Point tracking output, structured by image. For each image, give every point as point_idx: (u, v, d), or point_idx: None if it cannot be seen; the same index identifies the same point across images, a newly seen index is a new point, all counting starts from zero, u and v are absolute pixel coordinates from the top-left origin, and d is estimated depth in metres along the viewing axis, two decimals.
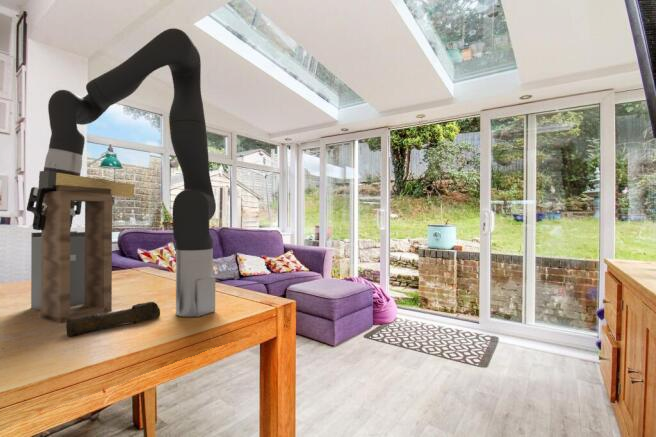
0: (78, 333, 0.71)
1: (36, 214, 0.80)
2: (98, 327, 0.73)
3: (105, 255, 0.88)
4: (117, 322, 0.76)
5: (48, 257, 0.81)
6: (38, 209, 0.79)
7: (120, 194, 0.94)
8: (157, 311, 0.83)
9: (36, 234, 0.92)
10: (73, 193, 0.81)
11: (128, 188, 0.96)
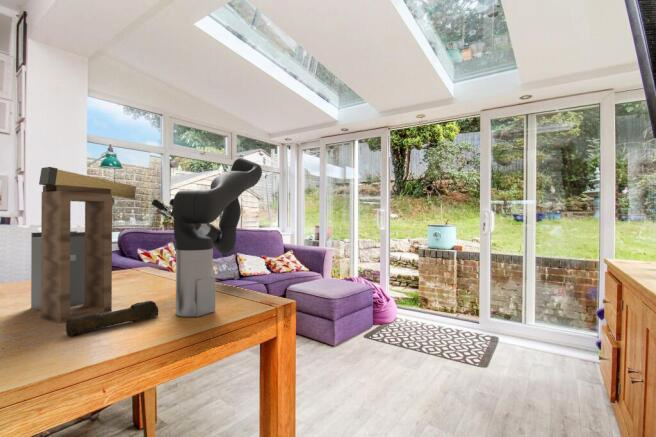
0: (79, 333, 0.71)
1: None
2: (98, 326, 0.74)
3: (105, 255, 0.88)
4: (117, 321, 0.76)
5: (48, 257, 0.81)
6: None
7: (121, 195, 0.94)
8: (156, 310, 0.84)
9: (36, 234, 0.92)
10: (73, 193, 0.81)
11: (129, 189, 0.96)
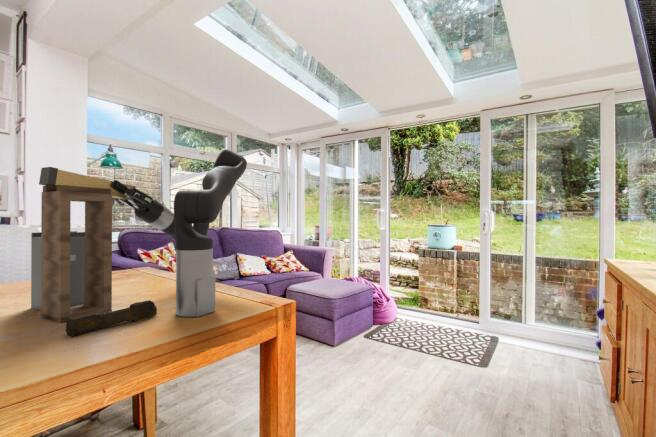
0: (79, 333, 0.71)
1: None
2: (99, 326, 0.74)
3: (105, 255, 0.88)
4: (117, 321, 0.77)
5: (48, 257, 0.81)
6: None
7: (120, 195, 0.94)
8: (154, 309, 0.85)
9: (36, 234, 0.92)
10: (73, 193, 0.81)
11: None
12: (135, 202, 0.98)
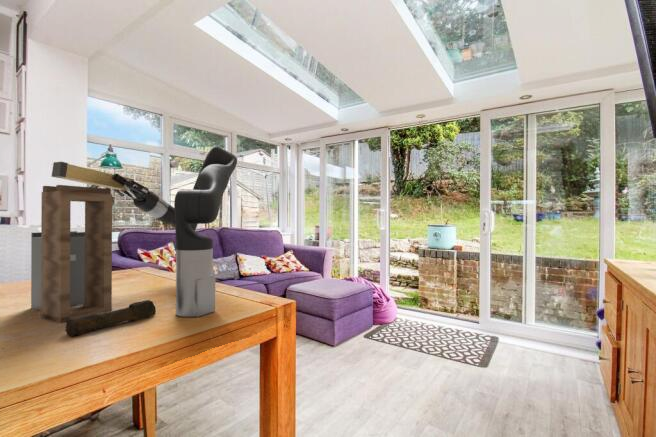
0: (80, 333, 0.71)
1: None
2: (99, 326, 0.74)
3: (105, 255, 0.88)
4: (117, 321, 0.77)
5: (48, 257, 0.81)
6: None
7: (121, 187, 1.08)
8: (153, 309, 0.85)
9: (36, 234, 0.92)
10: (73, 193, 0.81)
11: None
12: (133, 193, 1.12)
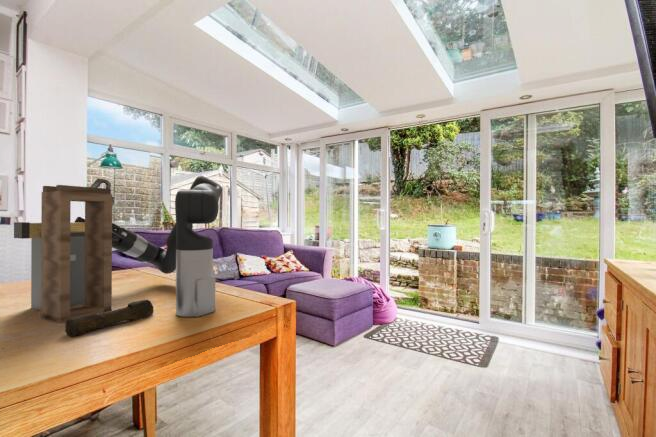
0: (81, 333, 0.71)
1: None
2: (99, 326, 0.74)
3: (105, 255, 0.88)
4: (116, 320, 0.77)
5: (48, 257, 0.81)
6: None
7: None
8: (151, 308, 0.86)
9: None
10: (73, 193, 0.81)
11: None
12: None
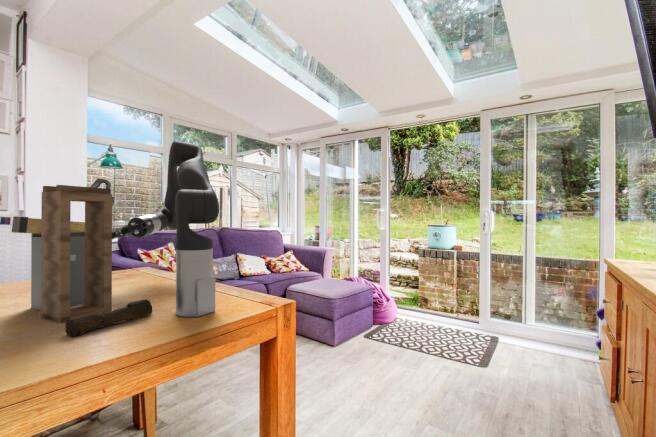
0: (81, 332, 0.71)
1: None
2: (99, 326, 0.74)
3: (105, 255, 0.88)
4: (116, 320, 0.77)
5: (48, 257, 0.81)
6: None
7: None
8: (150, 308, 0.86)
9: (36, 234, 0.92)
10: (73, 193, 0.81)
11: None
12: (138, 230, 1.12)
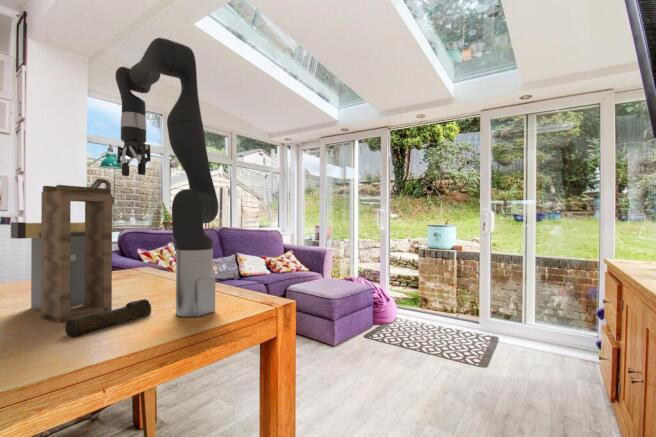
0: (82, 332, 0.71)
1: None
2: (99, 326, 0.74)
3: (105, 255, 0.88)
4: (116, 320, 0.77)
5: (48, 257, 0.81)
6: (117, 160, 1.14)
7: None
8: (149, 308, 0.86)
9: None
10: (73, 193, 0.81)
11: None
12: None
